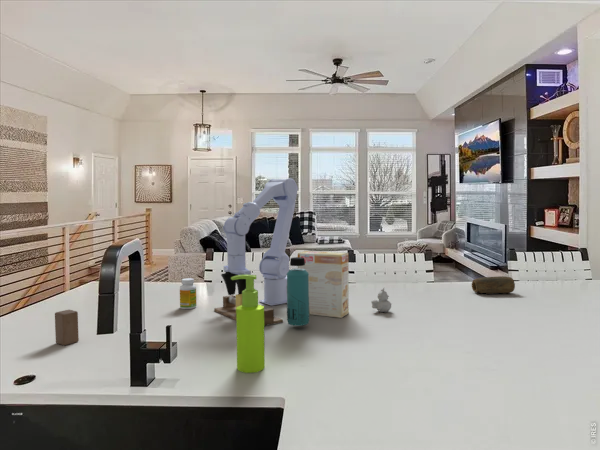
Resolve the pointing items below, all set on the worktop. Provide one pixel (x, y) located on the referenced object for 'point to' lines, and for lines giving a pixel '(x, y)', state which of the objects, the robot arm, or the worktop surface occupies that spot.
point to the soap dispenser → (250, 329)
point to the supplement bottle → (187, 294)
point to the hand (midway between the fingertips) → (237, 296)
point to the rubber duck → (382, 302)
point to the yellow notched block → (238, 300)
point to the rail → (230, 311)
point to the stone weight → (493, 285)
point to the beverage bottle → (297, 294)
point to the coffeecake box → (327, 282)
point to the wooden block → (66, 327)
